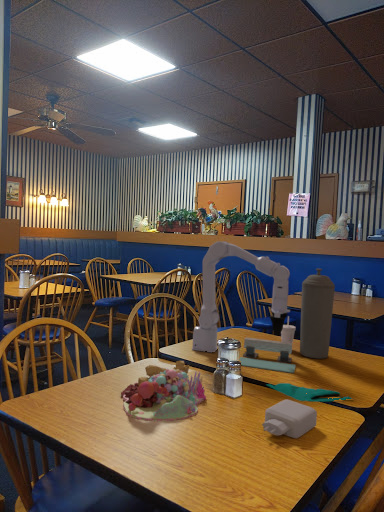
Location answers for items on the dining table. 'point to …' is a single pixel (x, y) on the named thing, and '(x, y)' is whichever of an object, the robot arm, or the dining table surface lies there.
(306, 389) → the cloth
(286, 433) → the charger
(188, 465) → the dining table surface
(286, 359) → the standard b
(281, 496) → the dining table surface
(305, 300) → the canister
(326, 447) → the dining table surface
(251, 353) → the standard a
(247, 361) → the mat
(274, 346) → the rail
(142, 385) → the coral reef model
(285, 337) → the smoothie
